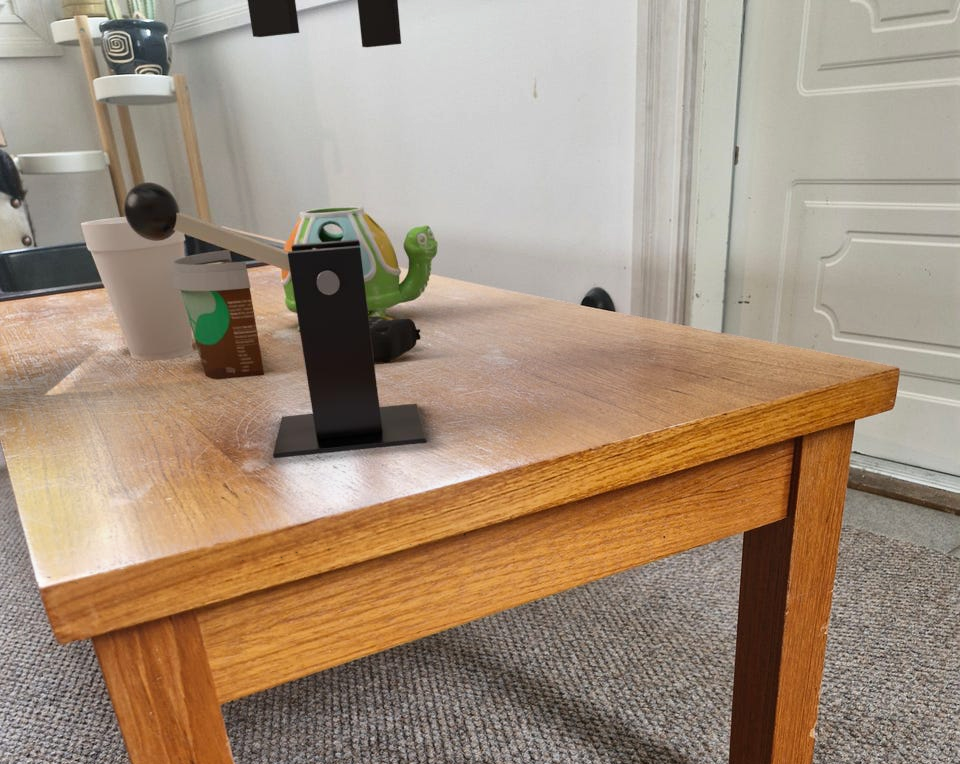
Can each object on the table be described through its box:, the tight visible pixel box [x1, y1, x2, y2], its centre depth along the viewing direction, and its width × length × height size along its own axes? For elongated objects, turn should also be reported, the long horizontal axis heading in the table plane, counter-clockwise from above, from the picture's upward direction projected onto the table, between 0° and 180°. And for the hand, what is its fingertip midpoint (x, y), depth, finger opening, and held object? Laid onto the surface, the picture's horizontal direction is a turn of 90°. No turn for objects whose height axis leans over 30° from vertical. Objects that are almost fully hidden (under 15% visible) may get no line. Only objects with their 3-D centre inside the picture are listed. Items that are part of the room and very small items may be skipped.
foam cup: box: [80, 216, 194, 361], centre depth 92 cm, size 10×9×13 cm
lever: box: [123, 181, 316, 272], centre depth 56 cm, size 14×3×3 cm, turn 97°
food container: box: [172, 249, 265, 380], centre depth 83 cm, size 12×6×10 cm, turn 21°
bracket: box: [272, 239, 427, 459], centre depth 60 cm, size 10×9×13 cm
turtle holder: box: [280, 205, 438, 333], centre depth 101 cm, size 12×18×12 cm
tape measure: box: [369, 316, 421, 364], centre depth 84 cm, size 7×7×4 cm
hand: (334, 41), depth 58 cm, fingers open, 13 cm apart
